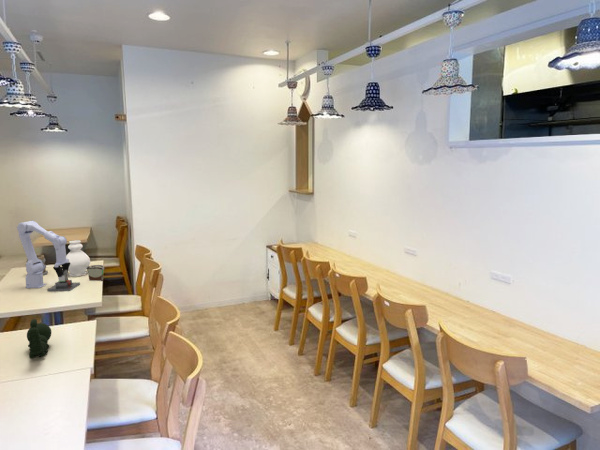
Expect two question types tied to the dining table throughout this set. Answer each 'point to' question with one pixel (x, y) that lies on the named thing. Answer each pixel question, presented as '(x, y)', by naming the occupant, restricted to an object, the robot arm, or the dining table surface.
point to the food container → (95, 272)
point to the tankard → (42, 262)
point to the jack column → (63, 276)
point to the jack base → (63, 286)
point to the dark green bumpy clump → (38, 338)
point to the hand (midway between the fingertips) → (62, 275)
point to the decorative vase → (77, 259)
